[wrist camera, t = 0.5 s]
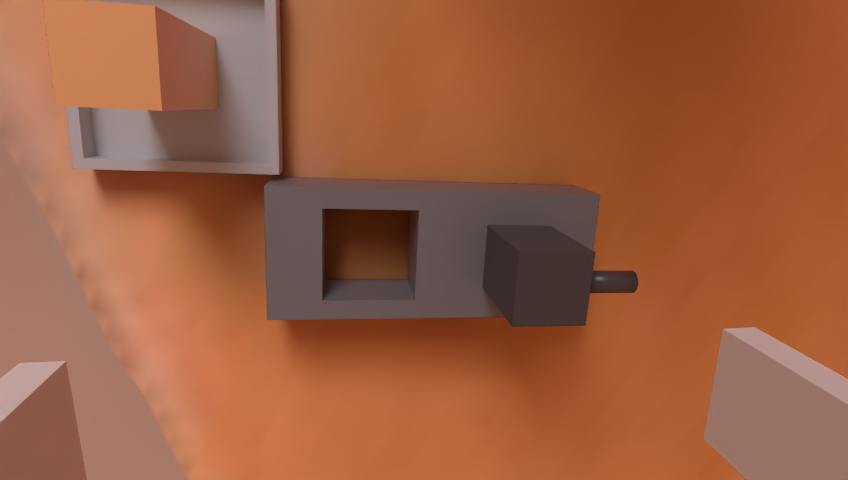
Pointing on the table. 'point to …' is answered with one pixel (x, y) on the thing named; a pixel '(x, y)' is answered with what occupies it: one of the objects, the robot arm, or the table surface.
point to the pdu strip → (442, 252)
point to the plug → (128, 57)
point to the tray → (200, 129)
